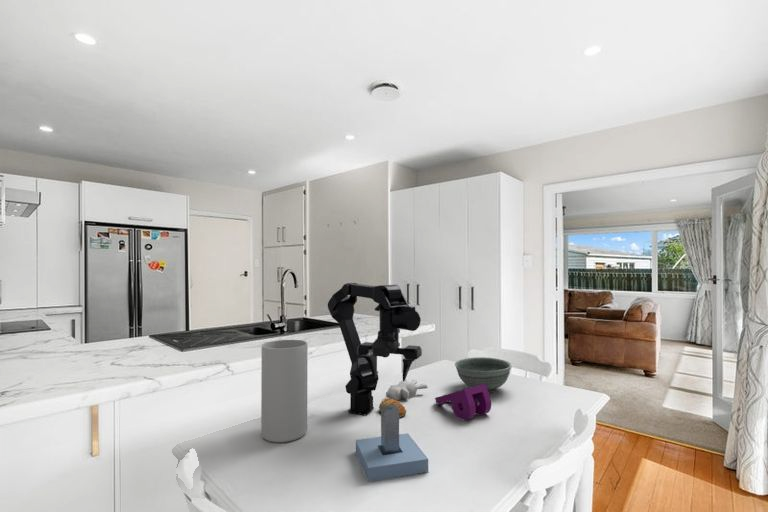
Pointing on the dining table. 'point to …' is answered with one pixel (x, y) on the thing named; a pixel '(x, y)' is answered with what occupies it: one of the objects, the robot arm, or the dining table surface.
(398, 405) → the pastry
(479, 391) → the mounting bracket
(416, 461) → the blue square washer
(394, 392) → the bunny figurine
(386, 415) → the grey tapered peg
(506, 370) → the bowl
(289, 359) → the cylinder vase
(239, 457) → the dining table surface
